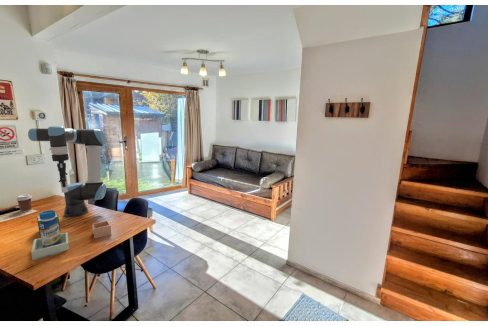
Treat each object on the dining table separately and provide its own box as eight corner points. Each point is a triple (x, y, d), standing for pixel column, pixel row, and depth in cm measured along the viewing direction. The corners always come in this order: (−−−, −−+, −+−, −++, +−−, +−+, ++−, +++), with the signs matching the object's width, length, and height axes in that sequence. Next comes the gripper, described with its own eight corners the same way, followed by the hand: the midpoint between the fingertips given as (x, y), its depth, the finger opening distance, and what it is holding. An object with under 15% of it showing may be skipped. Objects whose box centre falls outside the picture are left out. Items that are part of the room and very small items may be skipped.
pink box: (93, 234, 147) (92, 223, 146) (109, 230, 152) (108, 220, 151) (94, 239, 140) (93, 229, 139) (111, 235, 145) (110, 225, 144)
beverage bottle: (59, 240, 137) (54, 208, 133) (63, 245, 131) (58, 211, 128) (40, 246, 130) (35, 212, 127) (44, 251, 125) (39, 216, 122)
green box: (35, 247, 131) (34, 239, 130) (68, 239, 140) (67, 232, 139) (32, 260, 119) (31, 251, 118) (69, 251, 128) (68, 242, 127)
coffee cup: (15, 211, 178) (12, 196, 176) (28, 207, 187) (26, 193, 185) (23, 213, 176) (20, 198, 174) (36, 208, 184) (34, 194, 182)
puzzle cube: (58, 226, 157) (56, 212, 155) (60, 231, 150) (58, 216, 148) (38, 230, 150) (36, 216, 148) (40, 236, 143) (37, 221, 141)
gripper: (52, 150, 140) (57, 184, 145) (50, 157, 121) (56, 196, 125) (67, 150, 145) (72, 182, 149) (68, 156, 125) (73, 193, 130)
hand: (65, 188), depth 137 cm, fingers open, 13 cm apart
